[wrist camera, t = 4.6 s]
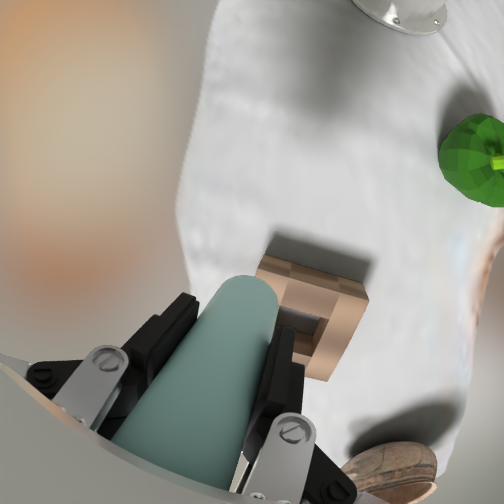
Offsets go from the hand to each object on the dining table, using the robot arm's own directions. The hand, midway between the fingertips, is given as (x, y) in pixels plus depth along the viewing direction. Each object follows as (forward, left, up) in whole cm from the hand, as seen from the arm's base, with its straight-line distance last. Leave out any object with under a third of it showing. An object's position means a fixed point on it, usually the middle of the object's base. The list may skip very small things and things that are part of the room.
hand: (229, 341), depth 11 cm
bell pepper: (-14, +17, -19) cm, 28 cm away
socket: (+8, +5, -18) cm, 20 cm away
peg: (0, 0, -3) cm, 3 cm away
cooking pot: (+33, +31, -19) cm, 49 cm away
